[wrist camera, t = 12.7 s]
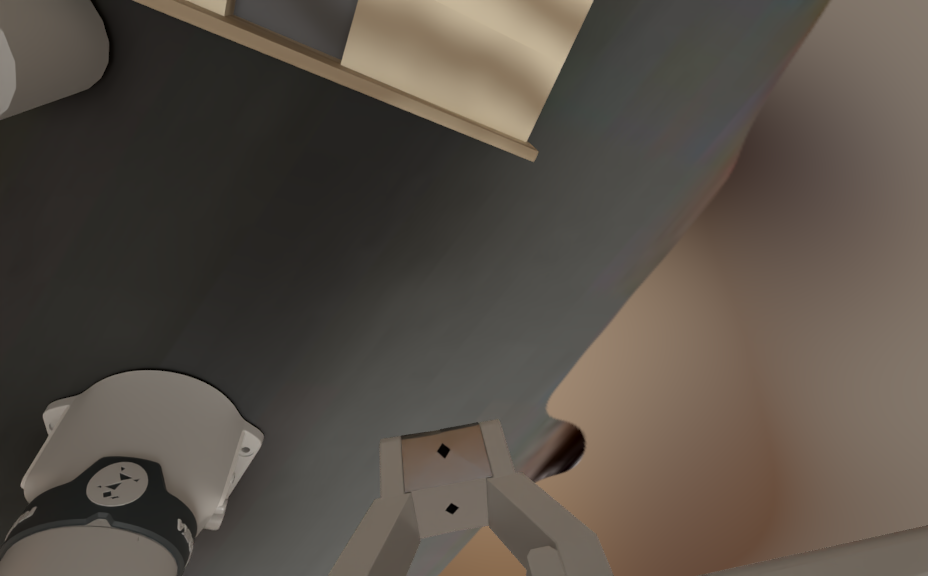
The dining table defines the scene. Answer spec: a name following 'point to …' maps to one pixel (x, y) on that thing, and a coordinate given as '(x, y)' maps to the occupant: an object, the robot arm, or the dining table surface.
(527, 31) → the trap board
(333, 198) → the dining table surface
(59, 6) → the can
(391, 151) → the dining table surface
